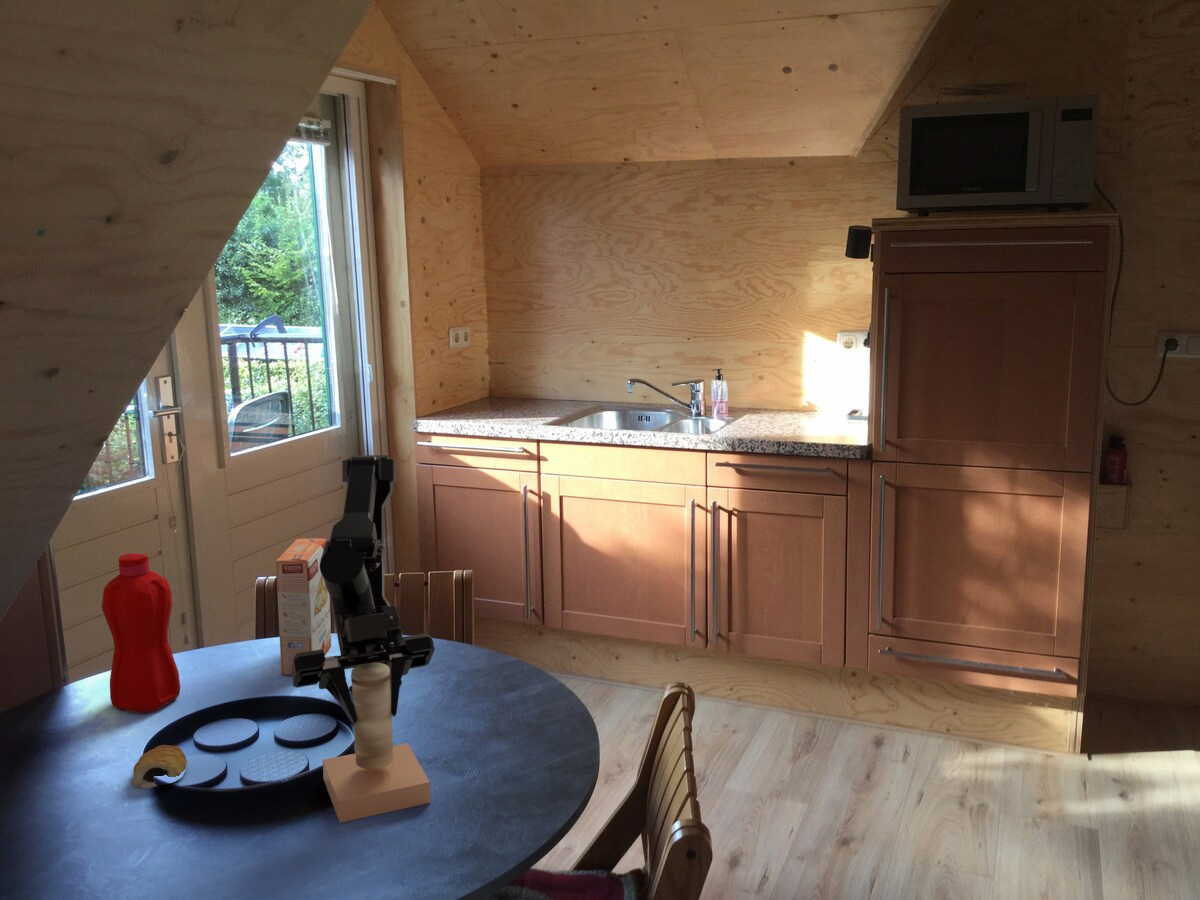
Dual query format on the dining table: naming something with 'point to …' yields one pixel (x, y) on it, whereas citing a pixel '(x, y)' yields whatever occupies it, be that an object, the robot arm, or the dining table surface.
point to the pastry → (158, 765)
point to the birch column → (372, 715)
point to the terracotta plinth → (375, 785)
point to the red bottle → (140, 637)
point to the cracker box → (302, 601)
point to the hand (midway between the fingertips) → (374, 719)
